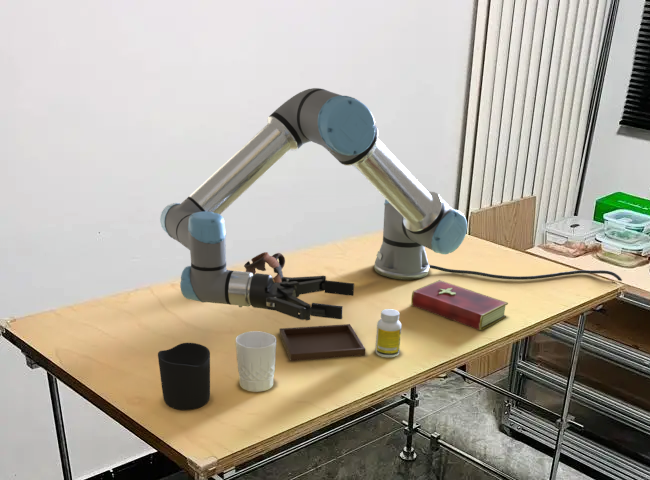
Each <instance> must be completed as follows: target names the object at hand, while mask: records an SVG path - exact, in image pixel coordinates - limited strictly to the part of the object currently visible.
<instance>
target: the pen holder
mask: <svg viewBox="0 0 650 480" xmlns="http://www.w3.org/2000/svg"><path fill="white" fill-rule="evenodd" d="M157 359H158V360H157V361H158V368H159V375H160V384H161V390H162V397H163V402H164V403H165V405H166V406H168V407H169V408H171V409H174V410H177V411H191V410H197V409H200V408H202V407H204V406H205V405H207V404H208V402H209V401H210V399H211V351H210V349H209V348H208V347H207V346H205V345H203V344H200V343H196V342H182V343H179V344H178V345H175V346H173V347H172V348H169V349H163V350H159V351H158V352H157Z"/></svg>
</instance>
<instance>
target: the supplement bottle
mask: <svg viewBox="0 0 650 480" xmlns="http://www.w3.org/2000/svg"><path fill="white" fill-rule="evenodd" d="M376 323H377V324H376V335H375V348H374V349H375V350H374V351H375V354H376V355H378V356H379V357H382V358H395V357H397V356H399V355H400V351H401V350H400V349H401V339H402V338H401V335H402V323H401V321H400V312H399V310H397V309H392V308H385V309H382V310H381V312H380V318H379V320H378V321H377V322H376Z"/></svg>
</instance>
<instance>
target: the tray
mask: <svg viewBox="0 0 650 480" xmlns="http://www.w3.org/2000/svg"><path fill="white" fill-rule="evenodd" d="M278 333H279V337H280V340H281V342H282V344H283V347H284V349H285V351H286V353H287V356H288V359H289V361H290V362H297V361H311V360H320V359H322V360H323V359H324V360H325V359H337V358H348V357H351V358H352V357H365V356H366V347H365V346H364V344H363V343H362V341H361V339H360V338H359V336H358V335H357V333H356V331H355V329H354V327H352V325H351V324H350V323H347V324H346V323H345V324H329V325H315V326H297V327H283V328H279V332H278Z"/></svg>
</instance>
